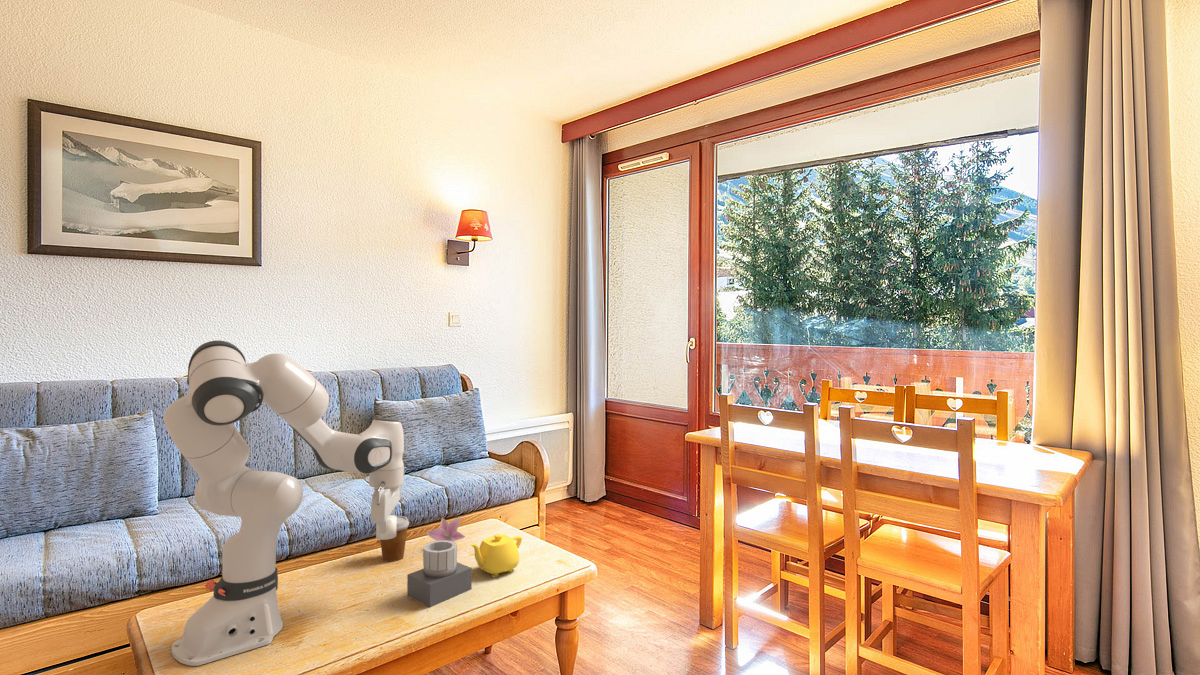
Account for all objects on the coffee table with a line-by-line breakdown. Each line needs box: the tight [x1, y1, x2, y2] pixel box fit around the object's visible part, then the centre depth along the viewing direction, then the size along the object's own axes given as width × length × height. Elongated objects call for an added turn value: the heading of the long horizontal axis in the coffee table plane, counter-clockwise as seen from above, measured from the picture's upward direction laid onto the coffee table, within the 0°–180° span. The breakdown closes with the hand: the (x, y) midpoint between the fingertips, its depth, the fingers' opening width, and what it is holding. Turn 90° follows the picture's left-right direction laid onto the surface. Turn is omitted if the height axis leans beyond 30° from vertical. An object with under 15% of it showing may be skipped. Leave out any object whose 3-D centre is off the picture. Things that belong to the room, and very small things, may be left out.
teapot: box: [469, 533, 523, 577], centre depth 184 cm, size 18×11×11 cm, turn 131°
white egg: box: [375, 514, 397, 540], centre depth 165 cm, size 5×5×5 cm
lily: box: [426, 516, 466, 542], centre depth 201 cm, size 12×12×10 cm
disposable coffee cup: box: [379, 515, 410, 563], centre depth 192 cm, size 10×10×12 cm
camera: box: [406, 540, 473, 608], centre depth 169 cm, size 14×10×13 cm
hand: (386, 528), depth 165 cm, fingers closed on white egg, 5 cm apart
